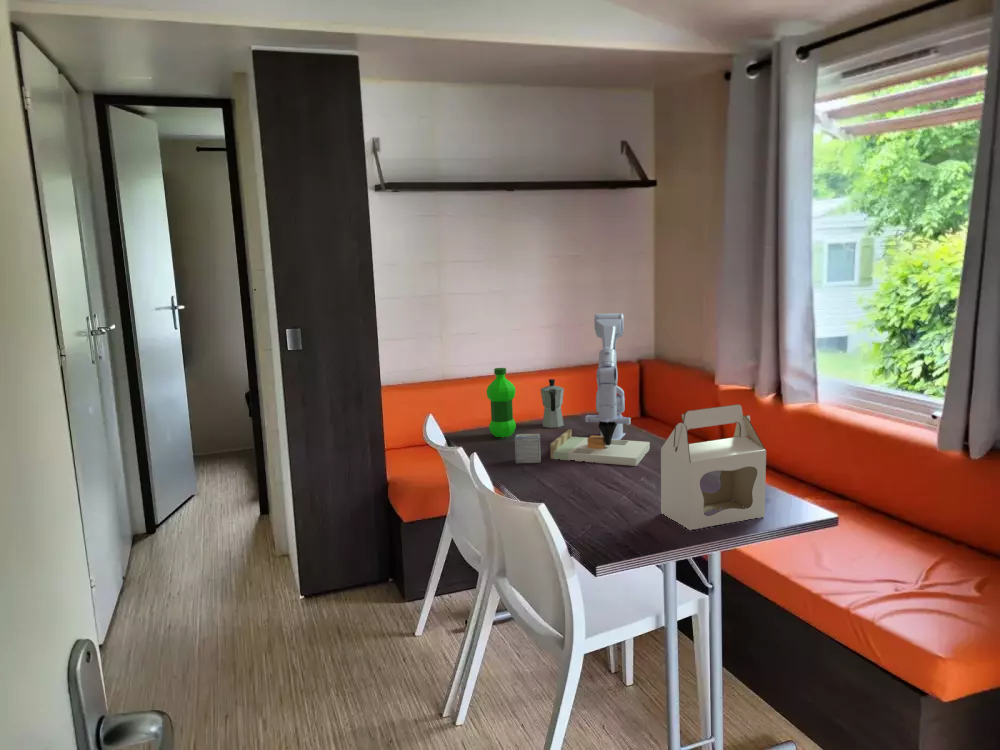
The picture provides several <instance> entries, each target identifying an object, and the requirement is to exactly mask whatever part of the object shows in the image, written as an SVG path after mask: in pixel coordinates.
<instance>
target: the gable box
mask: <svg viewBox="0 0 1000 750" xmlns="http://www.w3.org/2000/svg"><path fill="white" fill-rule="evenodd" d="M680 417H681V419H682V422H678V423H677V424H675V425H674V429H673V430H672V432H671V433H670V435H669V436H668V438H667V439H666V441H665V442H664V444H663V445H662V446H661V448H660V514H661V513H662V514H661V515H663V514H664V515H665V516H664V515H663V516H664V517H666V516H667V517H668V518H667V517H666V518H667V519H669V518H670V519H669V520H671V519H672V520H674V521H676V522H678V523H679V524H681V525H683V526H684V527H686V528H687V529H689V530H692V529H698V528H703V527H707V526H714V525H719V524H724V523H730V522H736V521H743V520H748V519H753V520H755V519H754V518H758V519H760V518H759V517H764V516H766V515H765V514H766V510H765V509H766V476H767V475H766V473H767V472H766V470H767V467H766V466H767V449H766V448H765V445H764V444H763V442H762V440H761V438H760V437H759V435H758V433H757V432H756V430H755V428H754V426H753V424H752V422H751V415H749V414H748V415H745V414H744V413H743V407H742V405H740V404H737V403H736V404H730V405H723V406H715V407H706V408H700V409H699V408H698V409H693V410H686V411H685V412H684V413H682V414H681V415H680ZM728 424H736V425H735V430H734V433H733V437H727V438H721V439H714V440H707V441H700V442H694V443H693V442H692V443H689V435H688V433H689V432H688V431H689V430H690V431H691V430H692V429H698V428H699V429H700V428H705V427H706V428H708V427H713V426H720V425H728ZM717 471H721V472H720V475H719V481H720V488H719V489H718V491H716V492H708V491H703V490H702V489H701V479H702V477H703V476H704V475H706V474H707V473H711V472H717ZM732 500H733V501H732ZM743 506H744V507H743ZM720 507H721V508H722V509H723V510H722V509H721V508H720ZM745 507H746V508H745ZM725 508H726V509H725ZM709 509H710V510H711V511H712V509H714V510H715V509H717V510H718V512H717V513H715V514H713V515H710V516H706V515H704V513H705V512H706V511H707V510H708V511H710V510H709ZM719 509H721V511H719ZM708 511H707V512H708ZM711 511H710V512H711ZM715 511H716V510H715ZM764 518H765V517H764ZM672 520H671V521H672ZM674 521H673V522H674ZM748 521H749V520H748ZM743 522H744V521H743ZM679 524H678V525H679ZM684 527H683V528H684ZM687 529H686V530H687Z"/></svg>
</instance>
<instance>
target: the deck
mask: <svg viewBox="0 0 1000 750" xmlns="http://www.w3.org/2000/svg"><path fill="white" fill-rule="evenodd" d="M572 431H573V430H572V429H567V430H566V431H565V432H564V433H562V434H561V435H560V436H559V437H557V438H556V439H554V440H552V442H551V443H550V447H549V448H550V459H551V460H558V459H560V460H561V461H570V460H575V461H574V462H582V461H585V463H594V462H595V463H597V464H608V465H609V464H610V465H619V466H630V467H631V466H632V467H633V466H634V467H636V466H638V465H639V463H640V462H641V461H642V459H644V457H645V456H646V455H647V454H648V452H649V451H650V450H649V449H651V448H650V447H651V446H650V444H651V443H650V441H640V440H627V439H626V440H624V439H621V440H613V439H612V440H611V444H610V445H606V446H605V447H604V448H603V449H596V448H588V440H587V439H588V438H589V437H583V436H573V435H572V434H573V433H572ZM645 454H646V455H645ZM560 460H559V461H560Z"/></svg>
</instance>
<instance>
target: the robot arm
mask: <svg viewBox="0 0 1000 750" xmlns="http://www.w3.org/2000/svg"><path fill="white" fill-rule="evenodd" d="M624 316H625V315H624V314H623V312H620V313H619V312H617V313H616V312H613V313H610V312H609V313H608V312H607V313H597V312H596V313H595V314H594V317H593V318H594V319H593V320H594V331H595V335H596V337H597V338H600V339H601V341H602V349H600V351H599V352H598V368H597V369H596V383H597V391H596V397H595V409H596V412H597V413H598V414H596V415H595V414H590V415H589V414H587V415H586V416H585V417H584V418H585V419H584V420H585V423H599V424H598V429H599V431H600V435H599V436H603V437H604V440H605V445H610V444H611V440H612V439H613V440H623V438H624V437H625V435H626V432H624V425H626V426H629V425H631V424H632V423H631V419H632V418H631V417H628V416H627V417H626V416H623V415H622V413H624V412H625V410H626V409H625V408H626V407H625V404H626V403H625V402H626V401H625V400H626V399H625V391H624V390H623V388H622V387H620V386H618V379H619V378H618V375H619V374H618V373H619V372H618V371H619V370H618V366H617V357H618V356H617V355H618V353H617V342H618V340H619V338H622V337H623V335H624V328H625V327H624V326H625V325H624V318H625V317H624Z"/></svg>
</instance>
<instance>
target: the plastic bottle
mask: <svg viewBox="0 0 1000 750" xmlns="http://www.w3.org/2000/svg"><path fill="white" fill-rule="evenodd" d="M493 371H494V373H493V374H494V375H495V379H494V380H492V381H491V382H490V384H489V385H487V388H486V396H487V399H488V400H489V401H490V418H491V420H490V421H489V425H488V429H489V432H490V433H491V435H493V436H494V437H495V438H497V437H508V436H510V437H511V436H512V435H513V434H514V432H515V431H516V428H517V424H516V421H515V419H514V412H513V410H514V409H513V399H515V396H516V387H515V385H514V384H513V382H511V381H510V380H508V379H507V378H506V375H507V368H506V367H496V368H494V370H493ZM508 438H509V437H508Z"/></svg>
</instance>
